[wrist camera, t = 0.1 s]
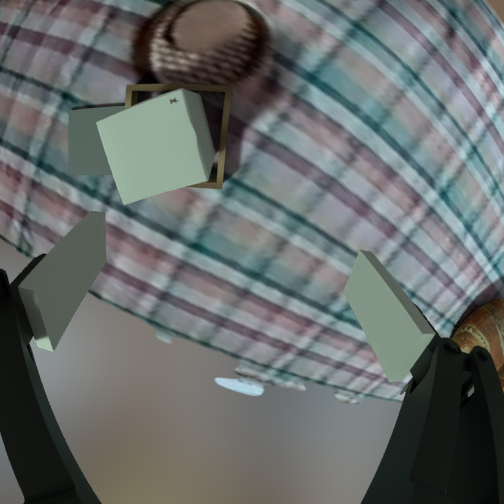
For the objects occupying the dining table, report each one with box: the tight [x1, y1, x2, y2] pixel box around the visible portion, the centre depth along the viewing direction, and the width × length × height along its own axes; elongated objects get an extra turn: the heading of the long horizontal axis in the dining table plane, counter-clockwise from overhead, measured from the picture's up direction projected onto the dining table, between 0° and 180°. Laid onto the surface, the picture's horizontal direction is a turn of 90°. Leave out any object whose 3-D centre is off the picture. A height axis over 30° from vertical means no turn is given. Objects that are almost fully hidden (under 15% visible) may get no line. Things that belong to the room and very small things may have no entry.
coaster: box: [68, 106, 125, 175], centre depth 35 cm, size 10×10×1 cm
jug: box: [451, 299, 504, 392], centre depth 52 cm, size 30×30×25 cm
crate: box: [125, 84, 233, 189], centre depth 35 cm, size 14×14×3 cm
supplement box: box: [96, 88, 216, 205], centre depth 30 cm, size 9×9×15 cm
